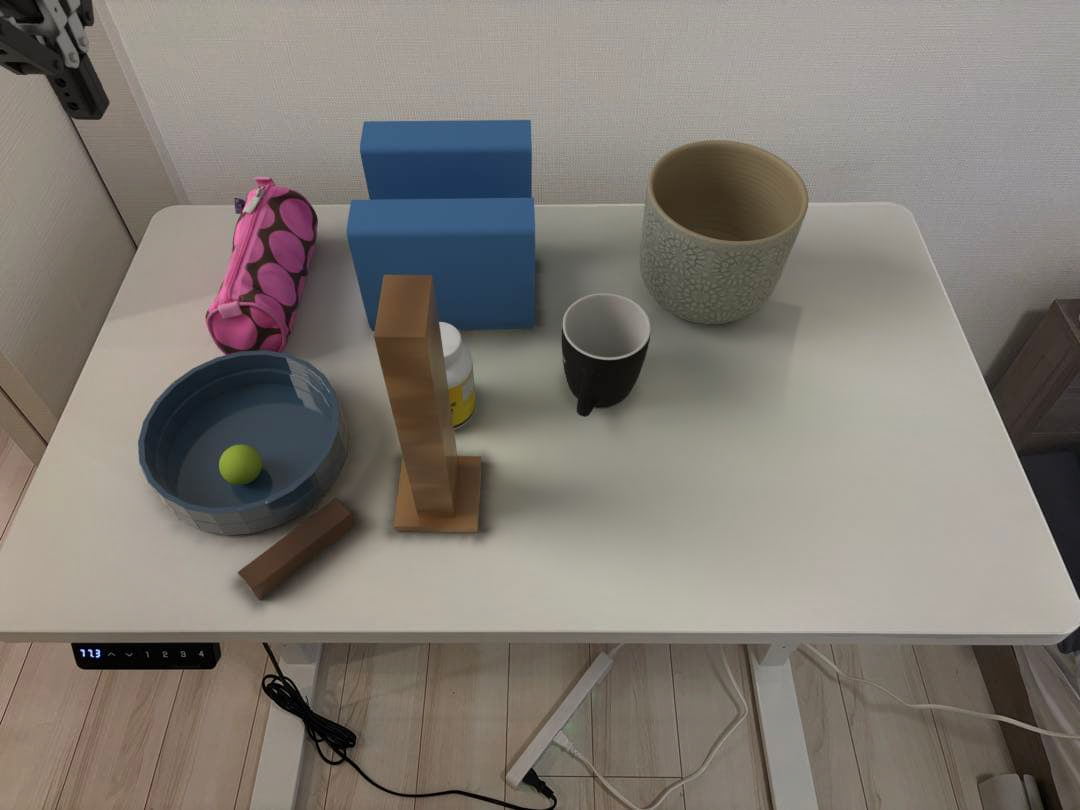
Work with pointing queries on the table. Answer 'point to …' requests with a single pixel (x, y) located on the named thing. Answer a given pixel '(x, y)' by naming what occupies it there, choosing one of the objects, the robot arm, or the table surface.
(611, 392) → the mug
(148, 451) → the bowl
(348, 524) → the stick
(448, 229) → the block
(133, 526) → the table surface
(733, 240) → the planter
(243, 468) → the grape
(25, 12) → the robot arm
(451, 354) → the pill bottle
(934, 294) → the table surface
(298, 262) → the pencil case
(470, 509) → the stand
